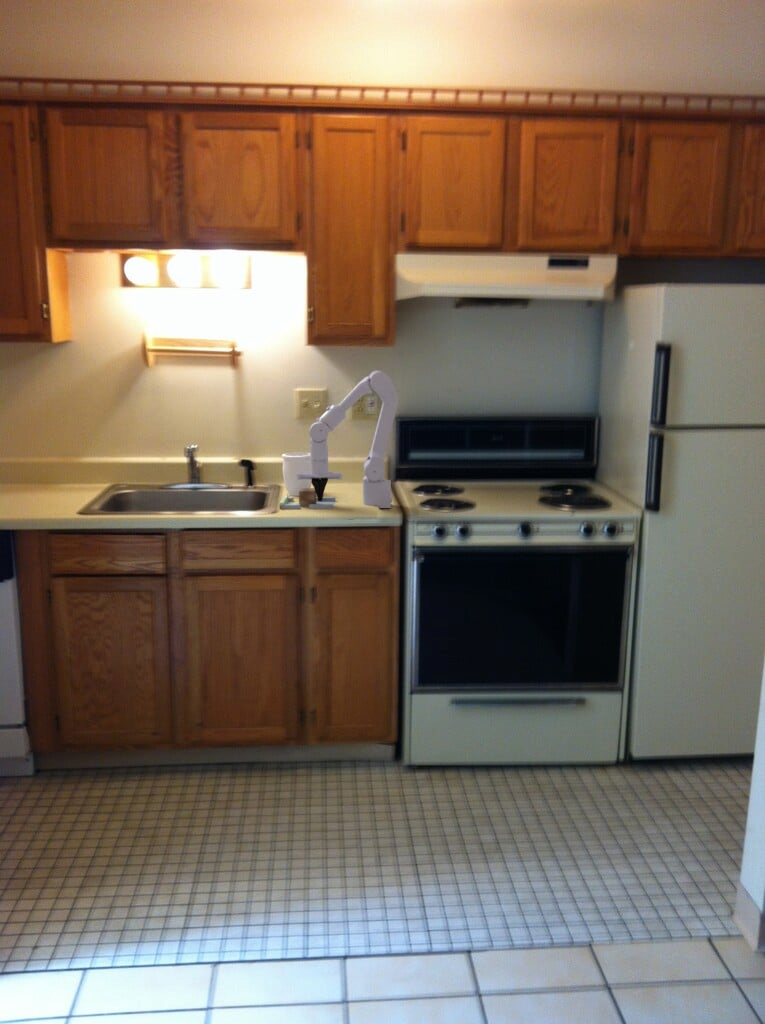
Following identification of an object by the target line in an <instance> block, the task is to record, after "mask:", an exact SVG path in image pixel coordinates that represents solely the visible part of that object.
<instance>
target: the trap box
mask: <svg viewBox="0 0 765 1024" xmlns="http://www.w3.org/2000/svg"><path fill="white" fill-rule="evenodd" d="M294 499H295V498H294V497H289V495H288V494H284V495H283V497H282V498H281V500H280V501H279V510H300V509H301V508H308V507H309V510H313V509H314V510H316V509H318V510H332V509H333V510H334V507H335V504H336V497H335V496H334V497H333V496H332V497H331V496H328V497H327V496H325V497H324V496H323V501H322V502H318V497H317V496H316V504H310V505H309V506H300V505H299V502H294V501H295V500H294Z"/></svg>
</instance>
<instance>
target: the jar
mask: <svg viewBox="0 0 765 1024" xmlns="http://www.w3.org/2000/svg"><path fill="white" fill-rule="evenodd" d="M281 458H282V459H283V461H282V476H283V478H282V479H283V483H284V488H285V489H286V491H287V494H286V495H288V496H298V497H299V490H300V489H301V488H312V487H311V486H312V482H311V481H312V479H301V480H297V473H307V472H311V460H310V452H304V451H303V452H302V451H295V452H292V451H291V452H287V453H286V452H285V453H282V455H281Z"/></svg>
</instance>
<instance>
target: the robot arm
mask: <svg viewBox="0 0 765 1024" xmlns="http://www.w3.org/2000/svg"><path fill="white" fill-rule="evenodd" d="M372 390H373V391H374V392H376V393H377V395H378V396H379V398H380V400H381V401H382V404H381V408H380V412H379V416H378V420H377V424H376V428H375V433H374V436H373V441H372V445H371V449H370V451H369V453H368V456H367V459H365V461H364V462H363V464H362V470H363V473H364V474H365V475H364V477H363V478H362V503H363V505H364V506H377V509H378V508H390V509H391V508H392V507H391V506H392V502H393V497H392V487H391V485H392V483H391V479H386V478H385V477H384V475H385V468H384V465H385V458H386V451H387V447H388V443H389V438H390V434H391V432H392V428H393V424H394V419H395V417H396V416H395V415H396V411H397V408H398V405H399V397H398V395H397V391H396V388H395V386H394V383H393V380H392V379H391V378H390V376H389V375H388V374H386V373H385V372H384V371H382V370H377V369H376V370H373V371H371V372H370V373H369V374H368V376H365V377H364V378H362V380H360V381H359V382H358V383H357V384H356V385H355V386H354V387H353V388H352V390H351V391H350V392H349V393H348V394H347V395H346V396H345V397H344V398H343V399H342V400H341V402H340V403H339V404H332V405H330V406H327V407H326V409H325V410H326V411H325V412H324V413H323V414H321V416H320V417H317V418H316V419H315V421H316V422H314V423H312V424H311V425H310V428H309V431H308V434H309V436H310V440H309V442H310V443H309V444H310V445H309V453H310V460H311V472H307V473H297V480H301V479H312V481H311V486H312V488H314V489H315V491H316V497H318V502H322V501H323V497H324V493H325V489H326V486H327V484H328V481H329V480H343V472H335V471H333V472H332V471H329V447H328V446H329V445H328V437H329V433H330V432H333V430H335V428H337V427H338V425H339V424H341V423H342V422H343V421H344V420H345V419H346V412H347V411H348V410H349V409H350V408H351V407H352V406H353V405H354V404H355V403H356V402H357V401H359V400H360V399H361V398H362V397H363V396H364V395H369V394H372V393H373V391H372Z"/></svg>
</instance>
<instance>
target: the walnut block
mask: <svg viewBox="0 0 765 1024" xmlns="http://www.w3.org/2000/svg"><path fill="white" fill-rule="evenodd" d="M316 497H317V494H316V491H315V489H314V487H310V488H301V489H300V490H299V496H298V500H299V501H298V503H299V505H300V506H309V505H310V504H316Z"/></svg>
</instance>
